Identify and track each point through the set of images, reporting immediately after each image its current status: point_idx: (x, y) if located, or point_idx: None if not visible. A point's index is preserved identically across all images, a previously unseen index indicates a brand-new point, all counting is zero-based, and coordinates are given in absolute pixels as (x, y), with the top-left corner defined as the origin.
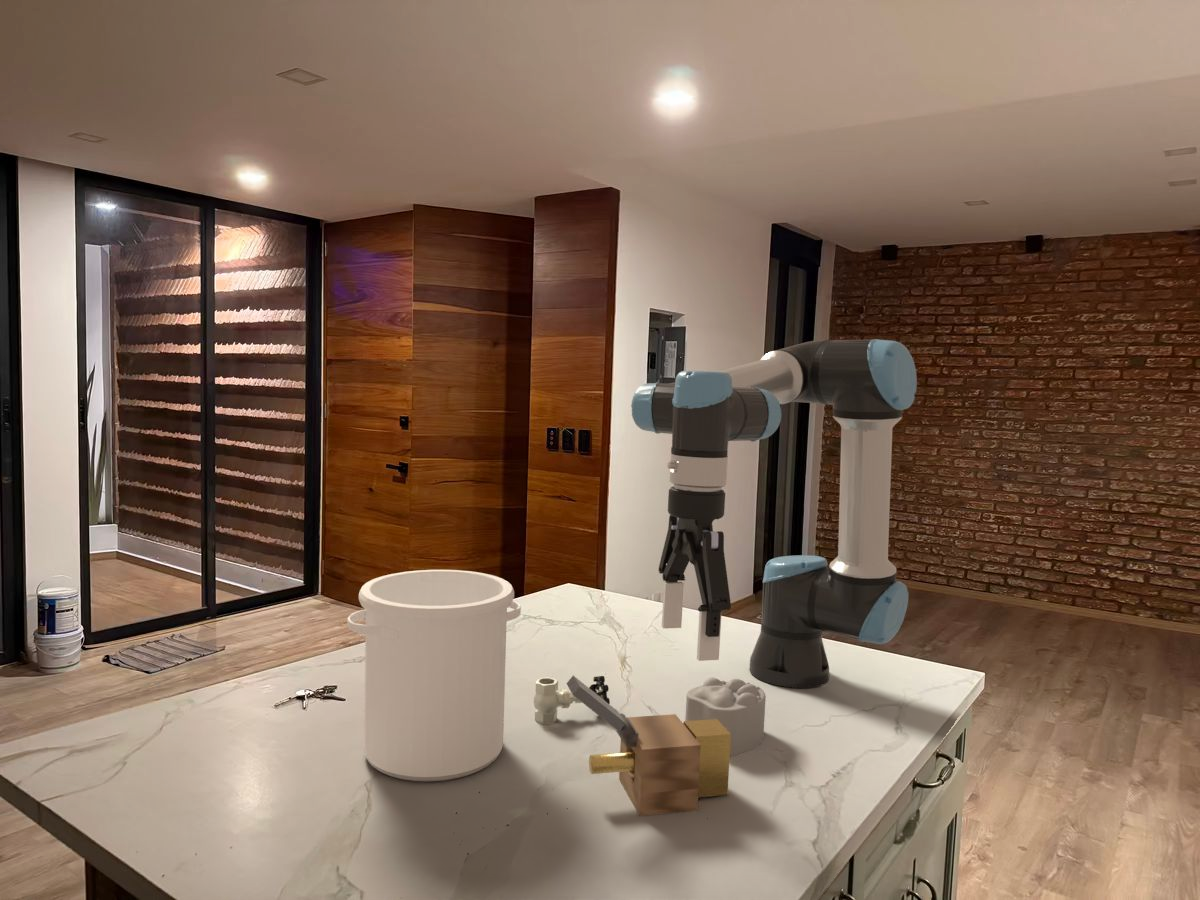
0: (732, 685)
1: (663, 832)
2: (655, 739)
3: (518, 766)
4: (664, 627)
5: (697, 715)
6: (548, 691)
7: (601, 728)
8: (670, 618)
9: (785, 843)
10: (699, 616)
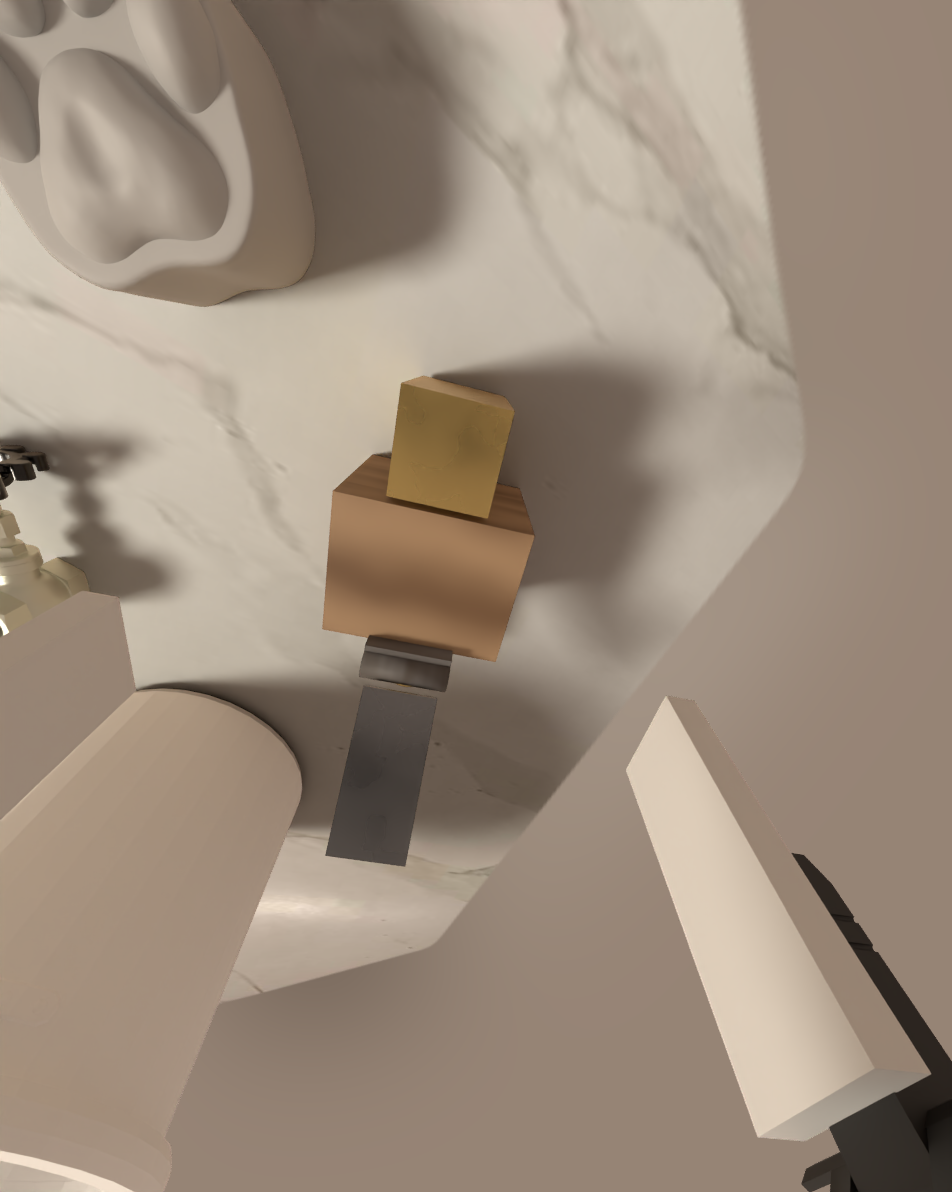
0: None
1: (551, 579)
2: (461, 615)
3: (273, 685)
4: (132, 691)
5: (184, 283)
6: (24, 623)
7: (116, 489)
8: (80, 698)
9: (701, 394)
10: (730, 1047)
